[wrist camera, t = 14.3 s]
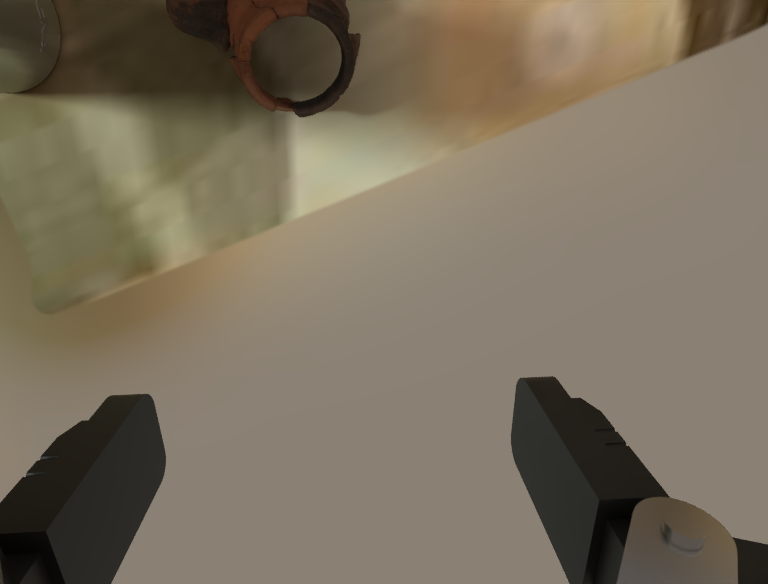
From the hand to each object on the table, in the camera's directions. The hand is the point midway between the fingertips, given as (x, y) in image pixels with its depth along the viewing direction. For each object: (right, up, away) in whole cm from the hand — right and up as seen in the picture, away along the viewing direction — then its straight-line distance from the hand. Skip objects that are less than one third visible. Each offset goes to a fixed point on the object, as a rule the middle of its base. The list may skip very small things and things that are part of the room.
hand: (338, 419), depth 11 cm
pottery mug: (-7, +21, +24) cm, 33 cm away
